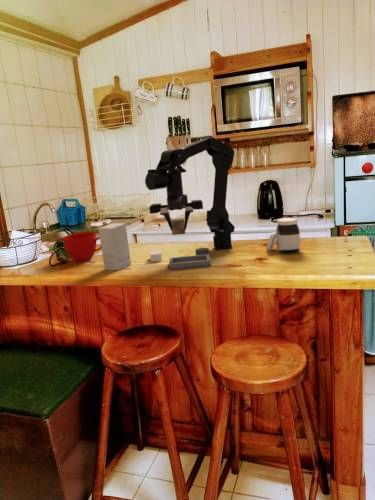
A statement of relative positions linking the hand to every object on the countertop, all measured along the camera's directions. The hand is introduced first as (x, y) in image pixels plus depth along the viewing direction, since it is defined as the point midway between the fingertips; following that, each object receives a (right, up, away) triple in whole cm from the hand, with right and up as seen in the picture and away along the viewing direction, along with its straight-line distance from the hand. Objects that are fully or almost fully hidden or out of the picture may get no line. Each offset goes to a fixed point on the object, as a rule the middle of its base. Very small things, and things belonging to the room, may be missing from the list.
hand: (178, 230), depth 144 cm
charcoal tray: (+4, -12, -5) cm, 14 cm away
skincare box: (-22, -14, +1) cm, 26 cm away
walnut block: (0, -1, 0) cm, 1 cm away
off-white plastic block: (-9, -11, +7) cm, 16 cm away
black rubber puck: (+9, -10, +4) cm, 14 cm away
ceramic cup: (-37, -11, +18) cm, 43 cm away
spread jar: (+38, -8, +1) cm, 39 cm away
